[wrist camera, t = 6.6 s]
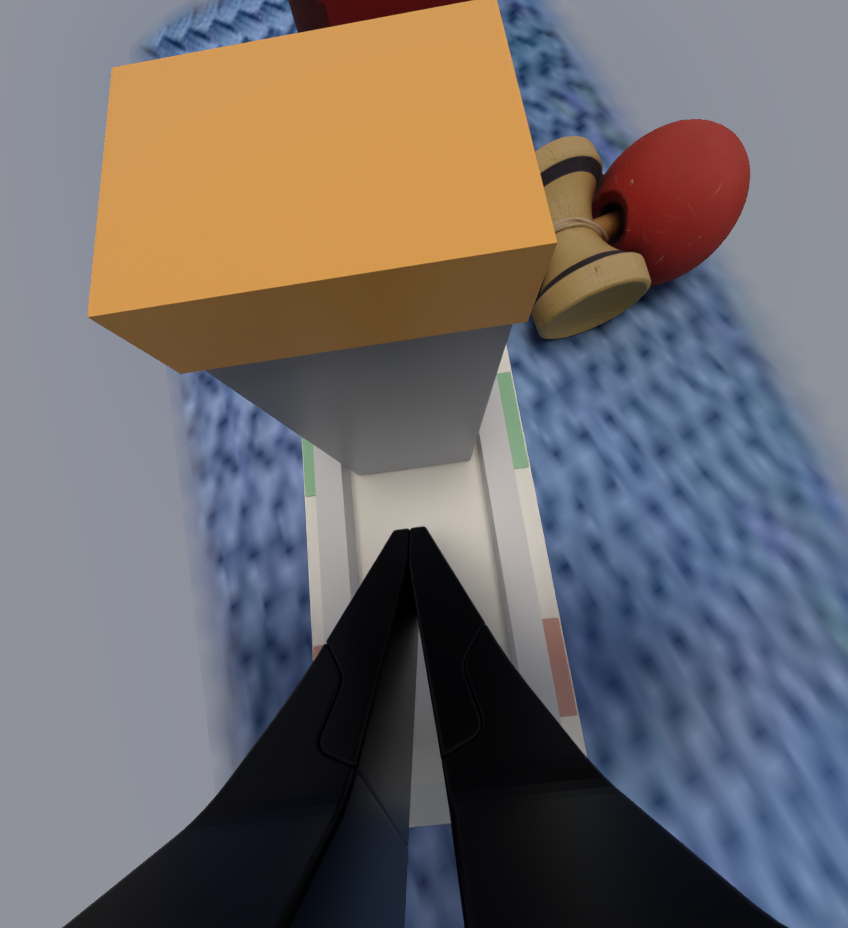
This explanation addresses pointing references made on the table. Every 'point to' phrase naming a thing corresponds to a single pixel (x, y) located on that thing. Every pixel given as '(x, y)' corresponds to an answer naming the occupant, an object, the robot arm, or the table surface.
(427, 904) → the table surface
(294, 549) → the table surface
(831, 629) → the table surface
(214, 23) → the table surface
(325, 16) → the canned food
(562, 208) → the kendama
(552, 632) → the railed base plate
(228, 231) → the handle
